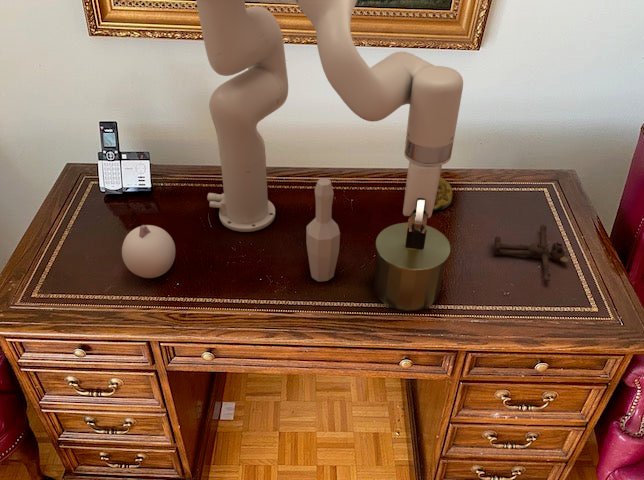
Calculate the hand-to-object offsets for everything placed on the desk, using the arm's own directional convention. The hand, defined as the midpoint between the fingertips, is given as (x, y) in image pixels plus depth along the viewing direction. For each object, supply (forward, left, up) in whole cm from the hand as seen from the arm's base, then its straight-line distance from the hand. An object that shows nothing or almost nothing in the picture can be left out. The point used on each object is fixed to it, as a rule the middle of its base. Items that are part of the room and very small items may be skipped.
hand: (416, 230), depth 113 cm
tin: (0, 0, -15) cm, 15 cm away
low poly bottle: (-17, +1, -15) cm, 23 cm away
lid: (0, 0, -4) cm, 4 cm away
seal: (+3, +33, -15) cm, 36 cm away
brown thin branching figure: (+24, +15, -15) cm, 32 cm away
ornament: (-51, -5, -15) cm, 54 cm away
